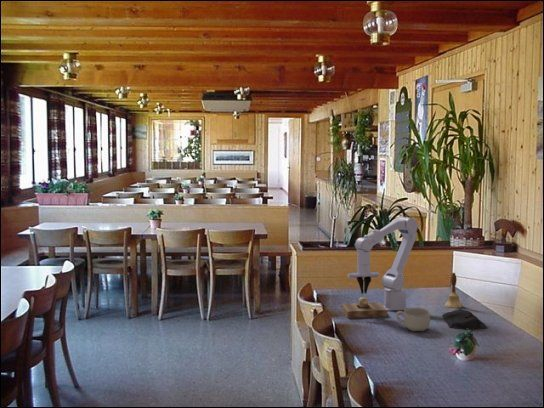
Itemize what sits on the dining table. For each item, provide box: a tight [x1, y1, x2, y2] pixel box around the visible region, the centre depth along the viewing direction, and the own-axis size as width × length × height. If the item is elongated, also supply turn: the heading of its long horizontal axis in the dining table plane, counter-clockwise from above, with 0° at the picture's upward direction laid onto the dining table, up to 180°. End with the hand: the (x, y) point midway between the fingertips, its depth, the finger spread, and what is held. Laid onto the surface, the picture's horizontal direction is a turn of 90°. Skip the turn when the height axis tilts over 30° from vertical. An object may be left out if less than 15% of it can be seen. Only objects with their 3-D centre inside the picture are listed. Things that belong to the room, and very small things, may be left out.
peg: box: [358, 296, 369, 309], centre depth 274 cm, size 4×4×7 cm
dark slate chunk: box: [441, 308, 488, 330], centre depth 258 cm, size 15×22×5 cm
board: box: [341, 301, 388, 319], centre depth 275 cm, size 18×14×3 cm
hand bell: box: [444, 272, 464, 309], centre depth 284 cm, size 8×8×16 cm
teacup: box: [395, 307, 431, 332], centre depth 248 cm, size 14×11×8 cm
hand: (363, 293), depth 274 cm, fingers closed
